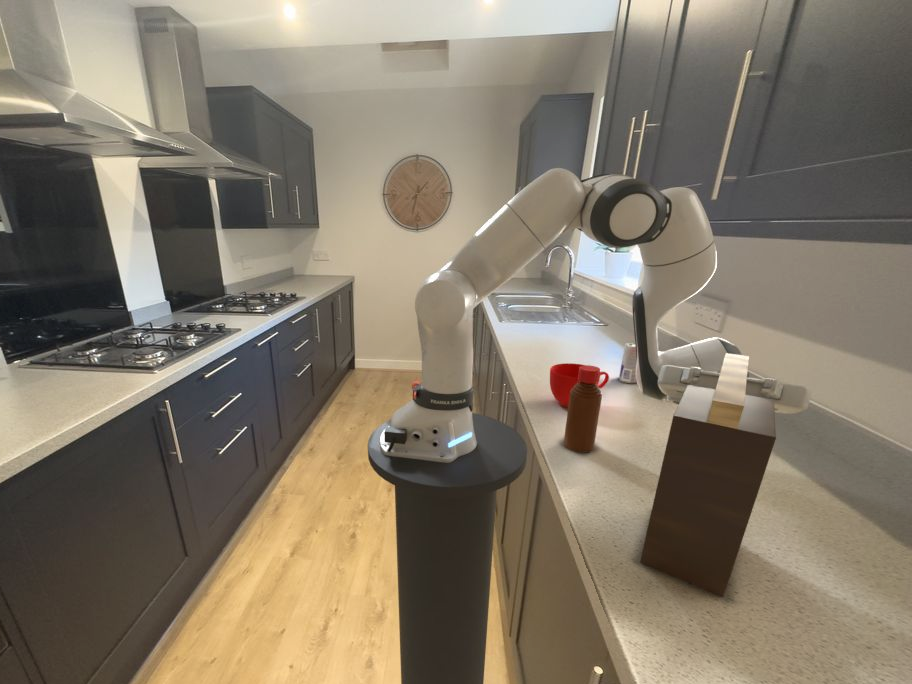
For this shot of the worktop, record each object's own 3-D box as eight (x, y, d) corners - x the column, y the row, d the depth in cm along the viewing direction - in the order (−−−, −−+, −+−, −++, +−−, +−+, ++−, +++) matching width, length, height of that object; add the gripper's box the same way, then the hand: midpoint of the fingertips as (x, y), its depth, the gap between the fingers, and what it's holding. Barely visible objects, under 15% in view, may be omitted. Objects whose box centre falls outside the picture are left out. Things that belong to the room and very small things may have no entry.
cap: (594, 377, 90) (596, 365, 89) (601, 383, 87) (603, 371, 86) (575, 377, 91) (576, 365, 90) (581, 383, 87) (582, 371, 86)
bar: (721, 370, 68) (725, 353, 67) (744, 373, 67) (749, 356, 66) (706, 422, 50) (712, 400, 49) (737, 429, 49) (744, 406, 48)
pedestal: (657, 514, 71) (687, 384, 63) (729, 539, 65) (773, 399, 57) (639, 562, 61) (673, 415, 53) (723, 596, 55) (776, 437, 47)
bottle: (568, 452, 91) (578, 376, 85) (560, 438, 97) (569, 366, 91) (598, 452, 91) (610, 376, 85) (587, 438, 97) (598, 366, 91)
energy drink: (627, 377, 136) (634, 342, 132) (641, 382, 131) (648, 346, 127) (614, 379, 135) (620, 343, 130) (628, 384, 130) (634, 347, 126)
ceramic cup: (618, 409, 112) (625, 375, 109) (561, 414, 110) (565, 379, 106) (591, 392, 124) (595, 361, 121) (538, 396, 122) (541, 364, 118)
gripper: (796, 427, 69) (817, 413, 58) (657, 399, 82) (652, 383, 71) (805, 391, 70) (827, 371, 59) (665, 369, 82) (662, 348, 71)
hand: (730, 377), depth 65 cm, fingers open, 8 cm apart
